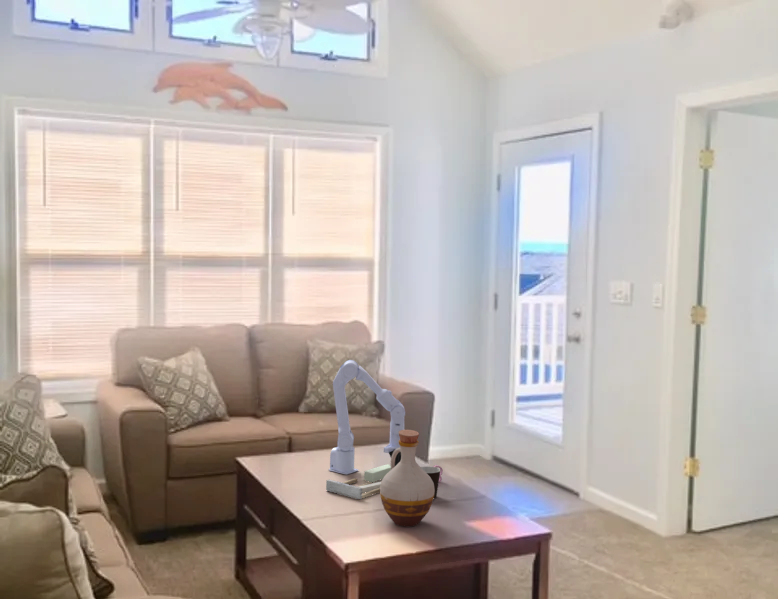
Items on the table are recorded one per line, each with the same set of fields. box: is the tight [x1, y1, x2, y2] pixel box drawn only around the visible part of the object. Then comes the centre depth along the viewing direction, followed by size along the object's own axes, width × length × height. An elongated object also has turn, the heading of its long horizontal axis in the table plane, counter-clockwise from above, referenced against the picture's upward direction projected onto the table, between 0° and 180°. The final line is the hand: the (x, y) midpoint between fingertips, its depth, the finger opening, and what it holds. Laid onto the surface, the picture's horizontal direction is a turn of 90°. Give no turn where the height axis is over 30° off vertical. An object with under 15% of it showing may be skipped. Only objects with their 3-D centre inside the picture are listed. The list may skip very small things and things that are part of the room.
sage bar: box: [363, 463, 391, 483], centre depth 314 cm, size 4×14×4 cm, turn 141°
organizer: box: [325, 477, 380, 500], centre depth 297 cm, size 16×16×4 cm
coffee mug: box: [420, 465, 440, 499], centre depth 292 cm, size 12×9×10 cm
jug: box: [379, 429, 435, 528], centre depth 264 cm, size 20×18×30 cm
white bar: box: [358, 481, 381, 493], centre depth 296 cm, size 2×14×2 cm, turn 130°
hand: (396, 467), depth 322 cm, fingers closed
